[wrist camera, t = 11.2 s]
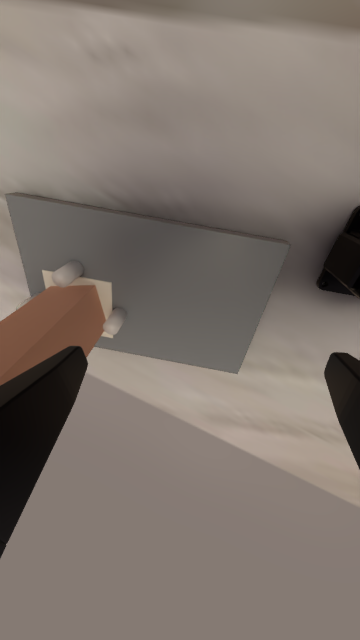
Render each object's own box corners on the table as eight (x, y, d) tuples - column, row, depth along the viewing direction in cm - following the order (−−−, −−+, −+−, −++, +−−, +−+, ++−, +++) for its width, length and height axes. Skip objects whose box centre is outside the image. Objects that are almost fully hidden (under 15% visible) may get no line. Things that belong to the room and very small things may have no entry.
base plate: (286, 241, 18) (301, 255, 15) (236, 366, 26) (239, 392, 23) (16, 192, 18) (-24, 197, 15) (47, 330, 26) (25, 351, 23)
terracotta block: (95, 285, 21) (-14, 391, 11) (107, 325, 23) (28, 443, 13) (50, 286, 21) (-93, 387, 11) (67, 325, 24) (-39, 438, 14)
